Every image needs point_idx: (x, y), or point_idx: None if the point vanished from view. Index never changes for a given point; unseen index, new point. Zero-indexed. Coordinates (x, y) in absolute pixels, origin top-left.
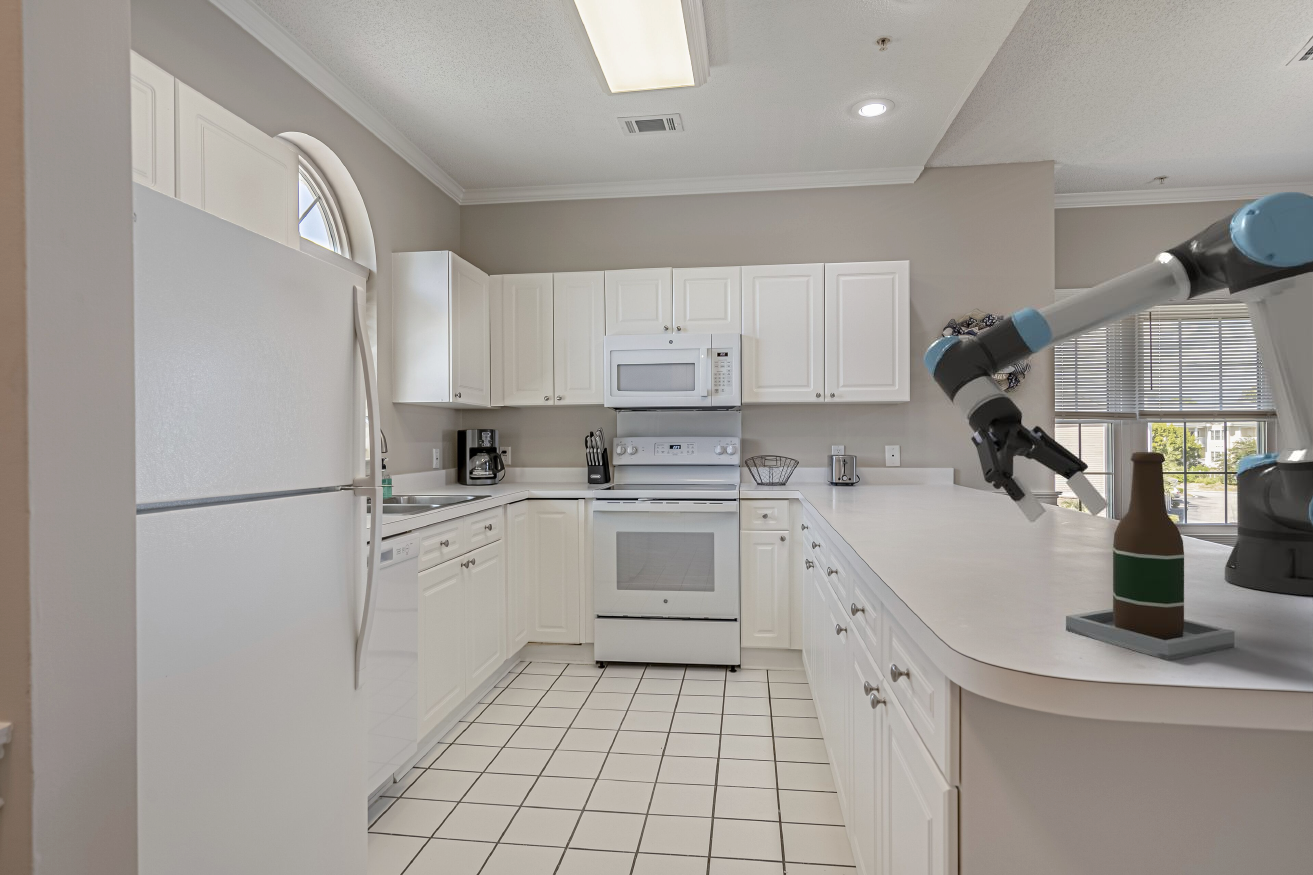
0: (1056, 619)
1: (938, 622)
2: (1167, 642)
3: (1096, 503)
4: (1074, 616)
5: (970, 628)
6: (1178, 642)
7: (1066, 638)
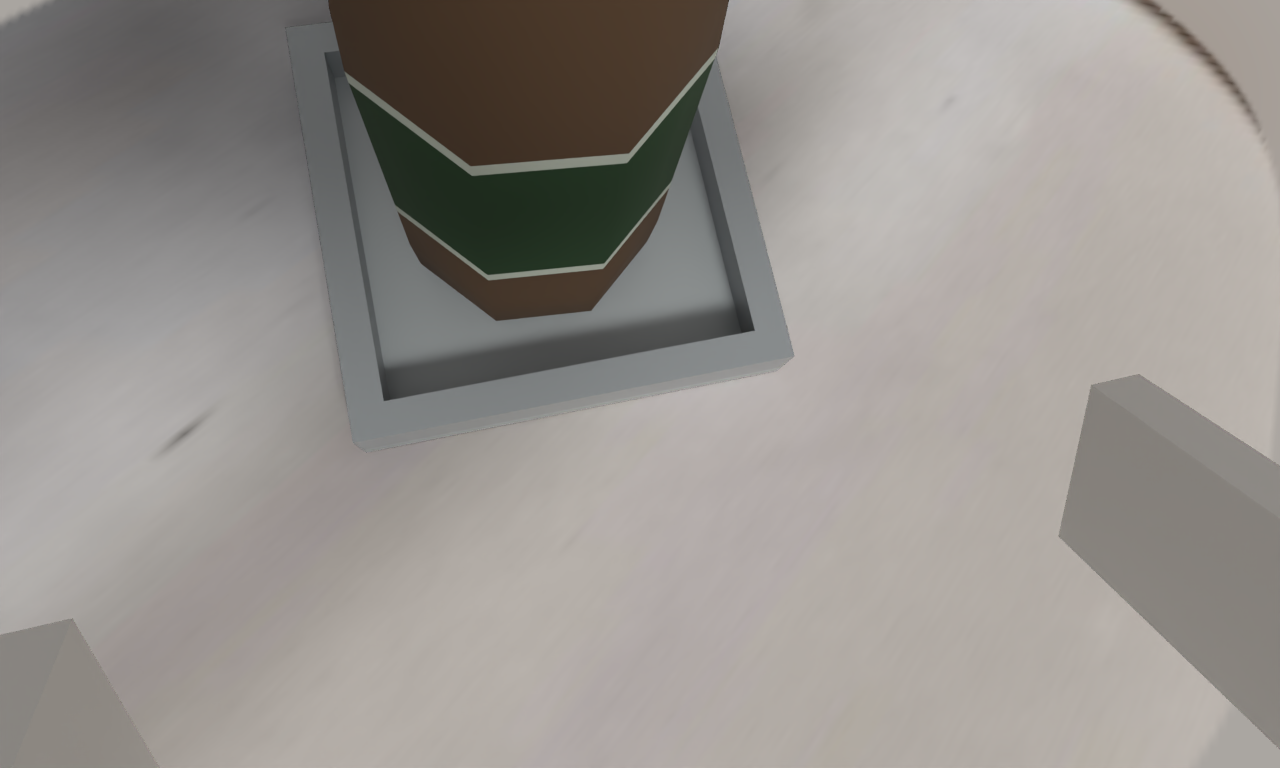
0: (694, 527)
1: None
2: None
3: (79, 758)
4: (764, 340)
5: None
6: None
7: (848, 284)
